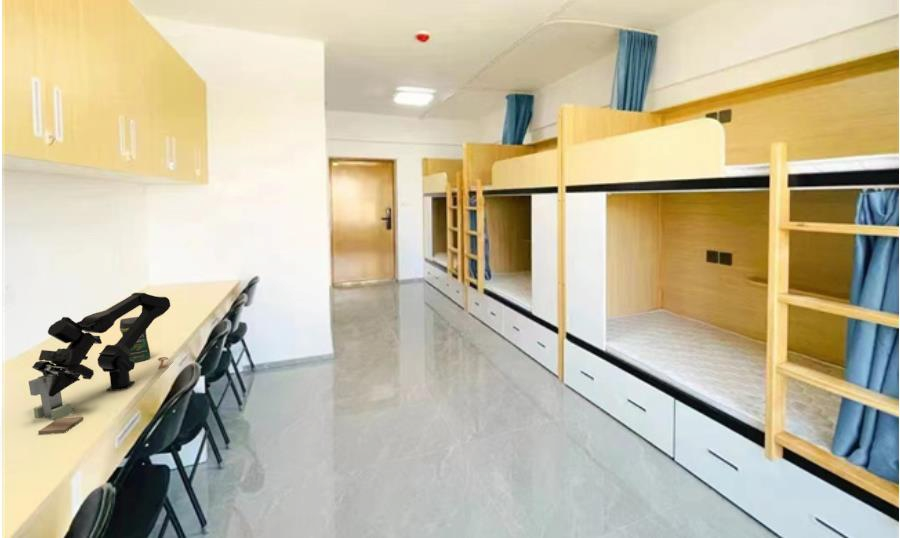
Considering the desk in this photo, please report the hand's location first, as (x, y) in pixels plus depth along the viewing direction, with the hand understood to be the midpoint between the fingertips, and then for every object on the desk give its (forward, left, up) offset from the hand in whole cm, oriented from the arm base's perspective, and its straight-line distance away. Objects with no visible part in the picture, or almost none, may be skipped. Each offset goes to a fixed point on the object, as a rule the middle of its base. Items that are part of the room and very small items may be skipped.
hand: (45, 395), depth 141 cm
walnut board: (+8, +8, -7) cm, 14 cm away
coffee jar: (-53, +2, -7) cm, 53 cm away
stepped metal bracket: (0, 0, -7) cm, 7 cm away
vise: (-1, +1, -7) cm, 7 cm away
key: (-46, +15, -8) cm, 49 cm away
